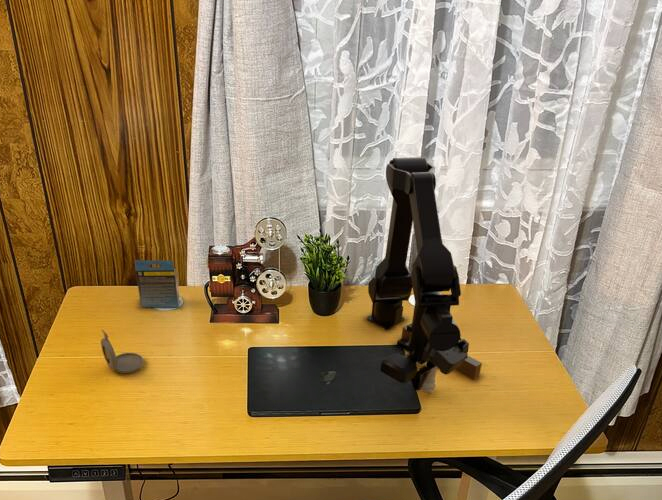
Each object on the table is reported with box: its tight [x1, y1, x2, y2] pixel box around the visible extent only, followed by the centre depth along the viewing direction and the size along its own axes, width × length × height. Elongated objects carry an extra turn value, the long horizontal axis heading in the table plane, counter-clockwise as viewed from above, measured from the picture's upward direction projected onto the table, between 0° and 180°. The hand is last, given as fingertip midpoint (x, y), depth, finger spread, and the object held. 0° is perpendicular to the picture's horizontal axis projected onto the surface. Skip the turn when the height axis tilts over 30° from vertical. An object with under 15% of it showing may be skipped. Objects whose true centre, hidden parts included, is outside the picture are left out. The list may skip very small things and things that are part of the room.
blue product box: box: [133, 259, 180, 309], centre depth 174 cm, size 9×4×12 cm, turn 93°
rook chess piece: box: [419, 366, 439, 394], centre depth 153 cm, size 4×4×8 cm
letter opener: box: [396, 337, 409, 353], centre depth 165 cm, size 11×2×1 cm, turn 45°
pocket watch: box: [100, 328, 144, 374], centre depth 156 cm, size 8×8×10 cm
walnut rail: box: [400, 325, 483, 380], centre depth 163 cm, size 20×2×4 cm, turn 45°
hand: (416, 389), depth 153 cm, fingers closed
